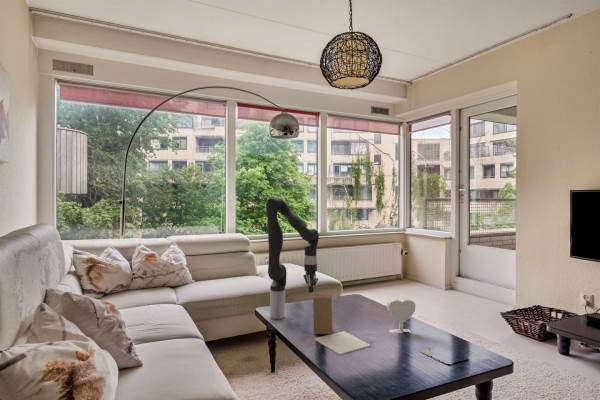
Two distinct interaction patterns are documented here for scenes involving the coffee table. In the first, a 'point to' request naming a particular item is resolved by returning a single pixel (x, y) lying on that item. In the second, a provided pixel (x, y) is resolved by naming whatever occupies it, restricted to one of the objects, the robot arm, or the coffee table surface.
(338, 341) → the mat
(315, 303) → the block
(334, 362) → the coffee table surface
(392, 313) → the heart sculpture
